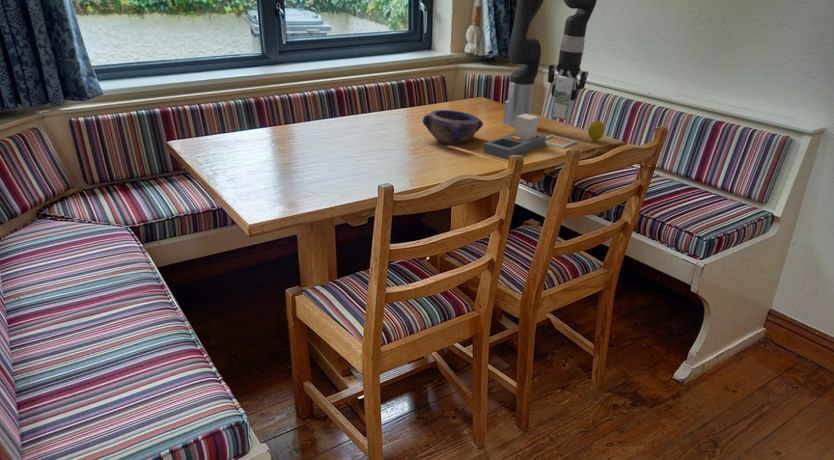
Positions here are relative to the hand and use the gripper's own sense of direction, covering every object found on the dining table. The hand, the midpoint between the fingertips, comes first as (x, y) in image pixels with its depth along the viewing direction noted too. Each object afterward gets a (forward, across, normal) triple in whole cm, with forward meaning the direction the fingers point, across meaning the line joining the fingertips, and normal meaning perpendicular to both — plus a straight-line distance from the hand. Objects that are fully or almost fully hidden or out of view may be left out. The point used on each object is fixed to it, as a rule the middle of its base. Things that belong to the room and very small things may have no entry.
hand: (563, 98), depth 213 cm
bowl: (+17, -27, -26) cm, 41 cm away
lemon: (+17, +8, +15) cm, 24 cm away
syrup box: (+7, 0, 0) cm, 7 cm away
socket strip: (+17, -6, -18) cm, 25 cm away
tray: (+17, +1, 0) cm, 17 cm away
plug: (+16, -6, -12) cm, 21 cm away
